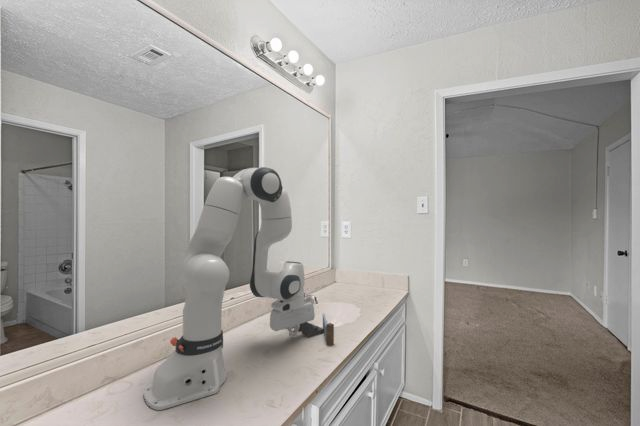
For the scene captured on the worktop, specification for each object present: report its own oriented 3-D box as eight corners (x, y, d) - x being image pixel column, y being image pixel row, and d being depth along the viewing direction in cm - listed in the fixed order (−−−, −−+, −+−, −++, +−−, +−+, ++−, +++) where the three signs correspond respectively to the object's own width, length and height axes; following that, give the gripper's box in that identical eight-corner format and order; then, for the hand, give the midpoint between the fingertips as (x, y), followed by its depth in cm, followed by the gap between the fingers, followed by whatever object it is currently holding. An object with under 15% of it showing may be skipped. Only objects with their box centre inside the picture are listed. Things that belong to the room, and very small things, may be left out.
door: (325, 341, 117) (325, 326, 117) (322, 327, 132) (322, 313, 132) (330, 341, 117) (330, 326, 117) (326, 327, 132) (326, 313, 132)
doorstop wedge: (308, 338, 122) (308, 326, 122) (301, 334, 126) (301, 322, 126) (323, 333, 126) (323, 322, 126) (316, 329, 130) (316, 318, 130)
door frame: (330, 346, 114) (330, 325, 114) (296, 330, 129) (296, 312, 129) (333, 344, 115) (333, 324, 115) (300, 329, 130) (300, 311, 130)
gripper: (308, 295, 128) (308, 327, 128) (267, 304, 115) (267, 340, 114) (317, 298, 124) (317, 331, 124) (276, 308, 110) (276, 345, 110)
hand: (293, 336), depth 119 cm, fingers closed
